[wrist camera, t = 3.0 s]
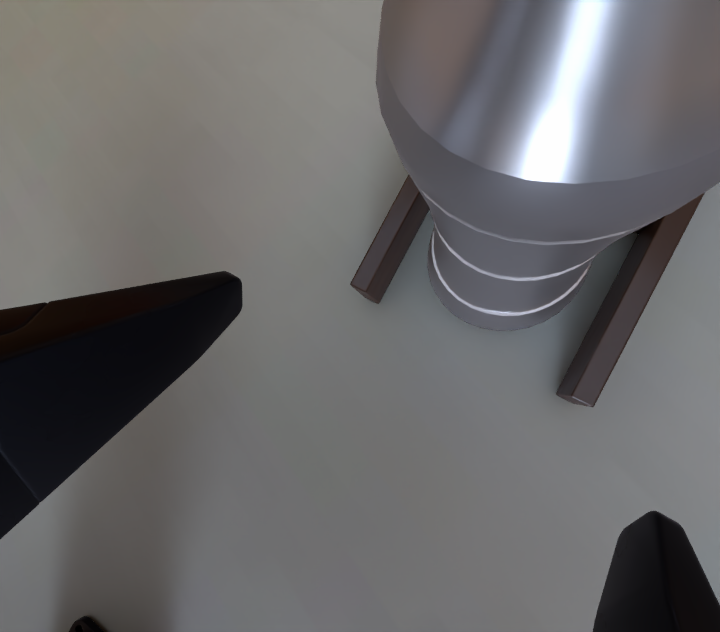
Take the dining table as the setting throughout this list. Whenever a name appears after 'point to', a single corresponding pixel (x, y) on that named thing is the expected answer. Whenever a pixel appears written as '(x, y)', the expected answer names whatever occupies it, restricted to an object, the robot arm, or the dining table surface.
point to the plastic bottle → (546, 135)
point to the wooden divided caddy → (608, 324)
